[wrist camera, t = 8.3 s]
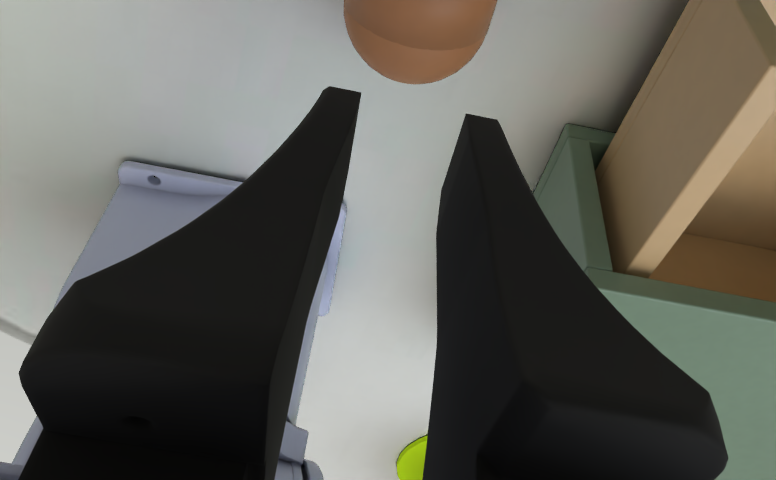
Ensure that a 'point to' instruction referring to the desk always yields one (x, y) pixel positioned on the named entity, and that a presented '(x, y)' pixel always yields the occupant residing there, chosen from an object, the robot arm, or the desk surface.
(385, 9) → the egg
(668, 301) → the cabinet
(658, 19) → the desk surface
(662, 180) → the drawer
